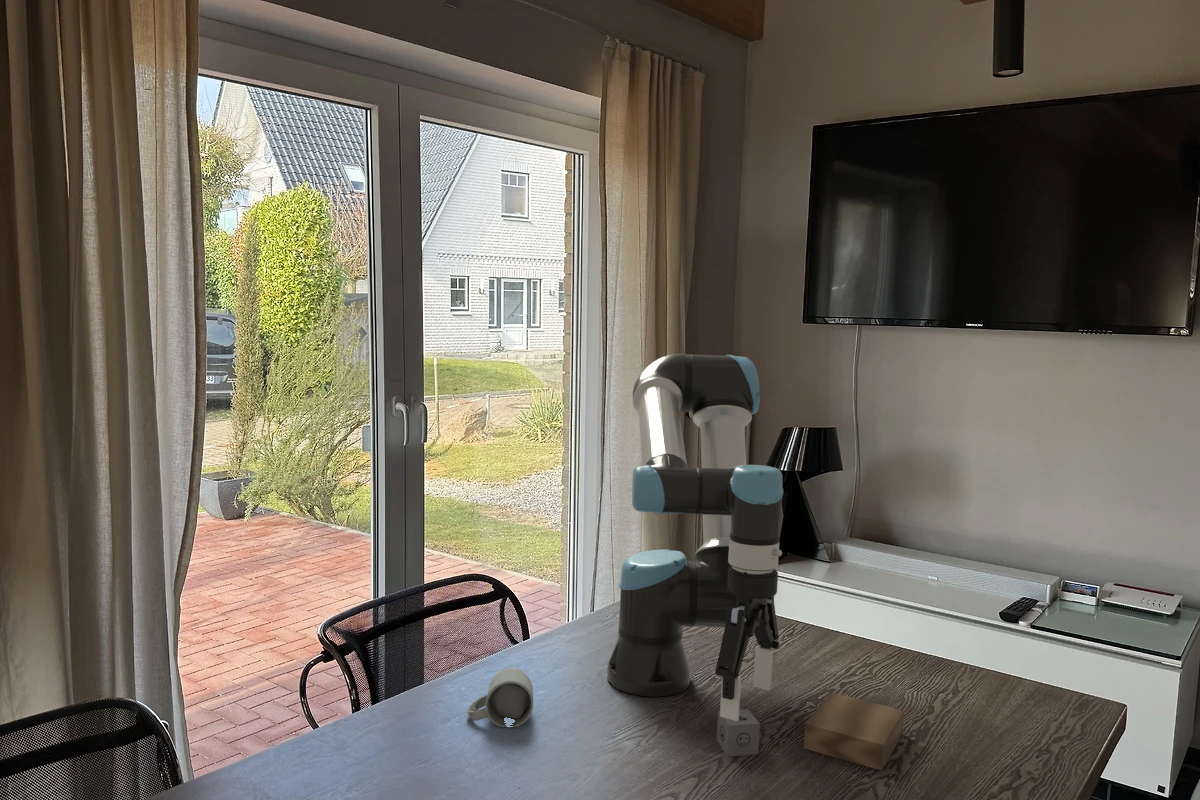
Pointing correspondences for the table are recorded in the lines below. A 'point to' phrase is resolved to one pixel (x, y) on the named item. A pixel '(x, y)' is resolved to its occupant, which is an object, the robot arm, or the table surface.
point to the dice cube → (738, 734)
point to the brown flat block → (854, 730)
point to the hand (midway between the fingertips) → (746, 702)
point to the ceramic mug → (505, 699)
